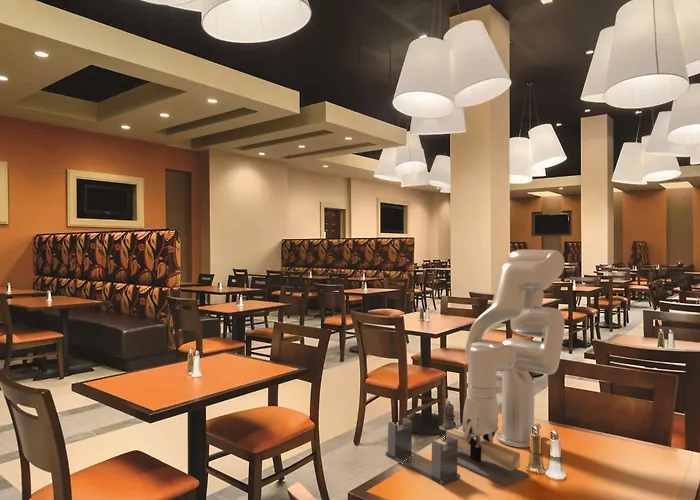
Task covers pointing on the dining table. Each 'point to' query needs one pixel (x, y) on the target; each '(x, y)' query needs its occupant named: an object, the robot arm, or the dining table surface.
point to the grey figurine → (447, 420)
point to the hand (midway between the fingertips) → (480, 458)
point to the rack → (437, 469)
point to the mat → (490, 469)
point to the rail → (489, 451)
